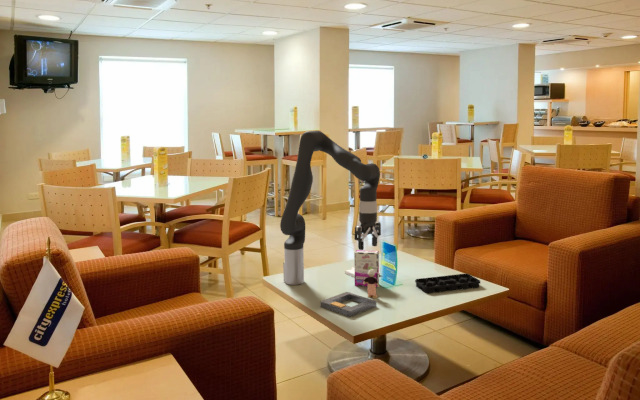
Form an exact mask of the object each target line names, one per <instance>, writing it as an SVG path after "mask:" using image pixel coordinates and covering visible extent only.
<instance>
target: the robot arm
mask: <svg viewBox="0 0 640 400" xmlns="http://www.w3.org/2000/svg"><path fill="white" fill-rule="evenodd" d="M298 145H299V146H298V151H297V158H296V164H295V167H294V173H293V177H292V180H291V185H290V190H289V194H288V197H287V201H286V205H285V208H284V210H283V213H282V216H281V218H280V219H281V220H280V223H279V227H280V231H281V233H282V234H283V235H285V236H289V237H288V238H287V239H286V240H285V241H284V242H283V243H284V244H283V248H284V251H283V252H284V253H283V254H284V262H283V265H282V266H283V267H282V268H283V272H282V273H283V282H284V283H285V284H286V285H292V286H294V285H295V286H296V285H302V284H303V283H304V282H305V263H304V261H305V259H304V244H305V242H306V241H305V240H306V221H305V217H304V216H303V215H302V214H300V213H299V211H300V209H301V207H302V205H303V204H304V203H305V202H306V200H307V199H308V196H309V195H310V193H311V190H312V185H313V182H314V177H313V176H314V175H313V171H312V167H311V163H312V158H313V155H314V152H319V151H320V152H322V153H326V154H328V155H329V156H331V157H332V159H333V160H334V162H335V163H336V164H337V165H339V166H340V167H342V168H344V169H346V170H347V171H348V172H350V173H351V174H352V175H353V176H354V177H355V178H357V179H358V180H359V181H362V182H364V184H363V186H361V187H360V189H359V204H358V210H359V211H358V214H359V215H358V219H359V220H358V221H359V223H360V225H359V226H358V225H355V227H354V237H353V238H354V241H358V245H357V247H358V250H364V248H365V246H364V245H365V238H367V236H368V235H371V237H372V238H371V245H372V247H377V246H378V237H380V236H381V235H382V230H381V229H382V228H381V224H382V223H381V222H380V221H378V203H377V190H378V187H379V183H380V179H381V178H380V176H381V170H380V167H379V166H378V165H377V164H376V163H373V162H372V163H363V162H362V160H361V158H360V157H358V156H357V155H356V154H353V153H352V152H349V151H348V150H347V149H345V148H343V147H342V146H341V145H339V144H337V143H336V142H335V141H333V140H332V139H331V138H330V137H329V136H327V135H326V134H325V133H324V132H323V131H320V130H309V131H308V130H307V131H305V132H303V133H302V135H301V136H300V139H299V144H298Z"/></svg>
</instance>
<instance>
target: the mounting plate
mask: <svg viewBox="0 0 640 400" xmlns="http://www.w3.org/2000/svg"><path fill="white" fill-rule="evenodd" d="M344 274H346V275H348V276H350V277H352V278H354V279H355V266H353V267H350V269H346V270H344ZM379 275H380V271H379Z"/></svg>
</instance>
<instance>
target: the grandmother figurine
mask: <svg viewBox="0 0 640 400" xmlns="http://www.w3.org/2000/svg"><path fill="white" fill-rule="evenodd" d="M368 275H369V276H370V277H367V278H366V279H365V280H364V282H363V284H365V283H366V282H368V286H367V298H371V299H372V298H373V299H376V298H378V295H377V288H379V287H380V282H379V283H378V281H377V279H376V278H374V275H375V270H374V269H370V270H369V271H368ZM375 283H376V284H377V287H376V285H375Z"/></svg>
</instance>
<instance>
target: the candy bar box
mask: <svg viewBox="0 0 640 400" xmlns="http://www.w3.org/2000/svg"><path fill="white" fill-rule="evenodd" d="M354 267H355V278H354V286H356V287H368V282H366V283H365V284H363V282H364V280H365V279H366V278H367V277H370V276H369V275H368V271H369V270H370V269H374V270H375V275H374V278H376V279H377V281H378V283H379V284H380V276H379V272H380V250H364V249H363V250H359V249H356V250H355V252H354ZM375 285H376V288H378V287H377V284H376V283H375Z"/></svg>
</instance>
